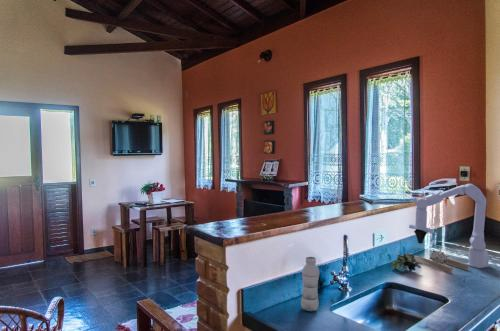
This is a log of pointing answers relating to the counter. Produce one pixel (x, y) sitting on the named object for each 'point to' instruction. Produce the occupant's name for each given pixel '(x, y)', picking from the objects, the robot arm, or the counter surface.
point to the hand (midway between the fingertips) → (420, 243)
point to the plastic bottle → (310, 285)
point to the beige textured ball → (439, 257)
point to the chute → (442, 266)
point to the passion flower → (405, 262)
